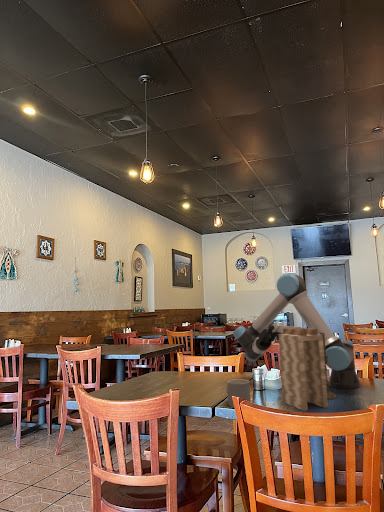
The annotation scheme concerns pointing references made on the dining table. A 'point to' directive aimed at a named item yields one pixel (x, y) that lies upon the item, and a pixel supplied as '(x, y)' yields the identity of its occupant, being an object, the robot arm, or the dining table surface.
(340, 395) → the dining table surface
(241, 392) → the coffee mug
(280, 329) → the hook arm
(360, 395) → the dining table surface
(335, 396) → the candlestick holder
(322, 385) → the brown wavy-patterned folding screen
